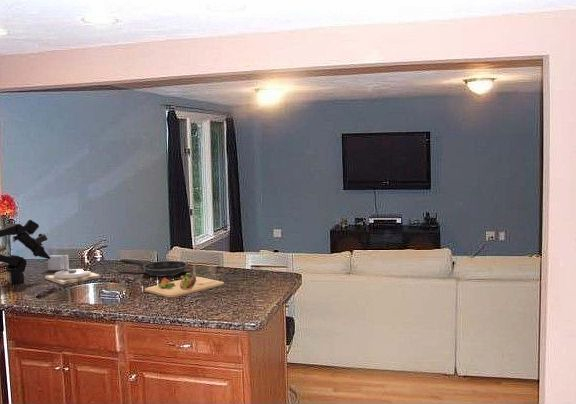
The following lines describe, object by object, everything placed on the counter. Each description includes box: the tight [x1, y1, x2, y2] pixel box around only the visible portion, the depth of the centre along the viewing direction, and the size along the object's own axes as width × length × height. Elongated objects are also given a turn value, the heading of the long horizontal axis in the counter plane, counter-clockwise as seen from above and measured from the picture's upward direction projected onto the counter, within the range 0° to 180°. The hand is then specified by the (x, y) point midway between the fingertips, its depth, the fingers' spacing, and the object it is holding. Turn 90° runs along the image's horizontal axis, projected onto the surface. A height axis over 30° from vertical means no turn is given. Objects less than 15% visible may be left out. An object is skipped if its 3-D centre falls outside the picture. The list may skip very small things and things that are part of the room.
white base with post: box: [54, 254, 92, 279], centre depth 330 cm, size 19×19×10 cm
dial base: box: [44, 271, 101, 285], centre depth 331 cm, size 22×22×2 cm
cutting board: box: [144, 272, 225, 298], centre depth 302 cm, size 35×23×8 cm
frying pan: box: [119, 258, 188, 277], centre depth 342 cm, size 44×25×7 cm, turn 67°
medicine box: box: [47, 254, 64, 271], centre depth 355 cm, size 8×4×9 cm, turn 84°
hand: (49, 258), depth 331 cm, fingers closed
